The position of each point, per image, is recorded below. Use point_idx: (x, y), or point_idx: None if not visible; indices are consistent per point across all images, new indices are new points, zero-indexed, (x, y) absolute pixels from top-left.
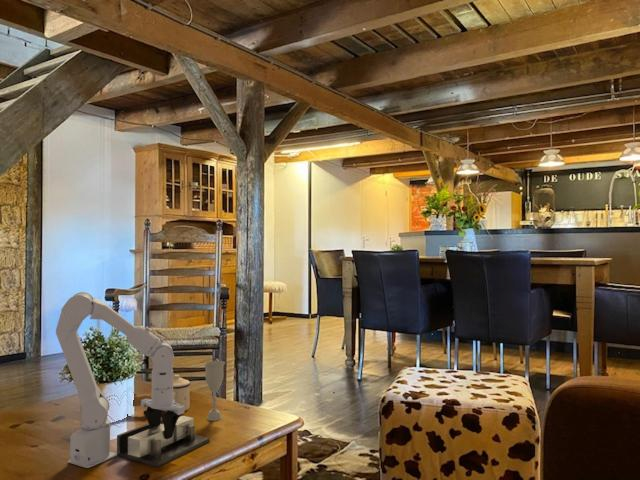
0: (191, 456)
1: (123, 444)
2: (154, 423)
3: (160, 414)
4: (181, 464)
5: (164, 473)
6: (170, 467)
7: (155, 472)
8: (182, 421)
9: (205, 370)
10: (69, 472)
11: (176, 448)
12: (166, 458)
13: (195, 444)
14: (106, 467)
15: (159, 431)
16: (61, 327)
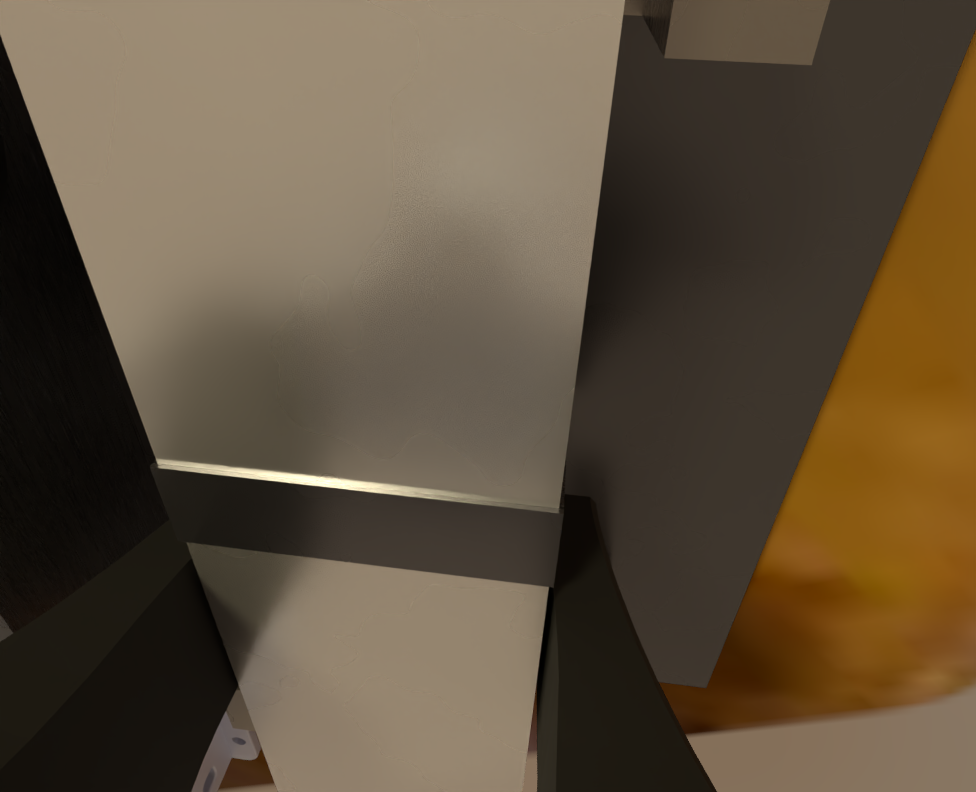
0: (955, 391)
1: None
2: (190, 716)
3: (26, 787)
4: (917, 572)
5: (836, 707)
6: (829, 634)
7: (746, 708)
8: (498, 211)
9: None
10: (225, 776)
11: (667, 387)
12: (728, 612)
13: (917, 129)
14: None
15: (498, 770)
16: None
